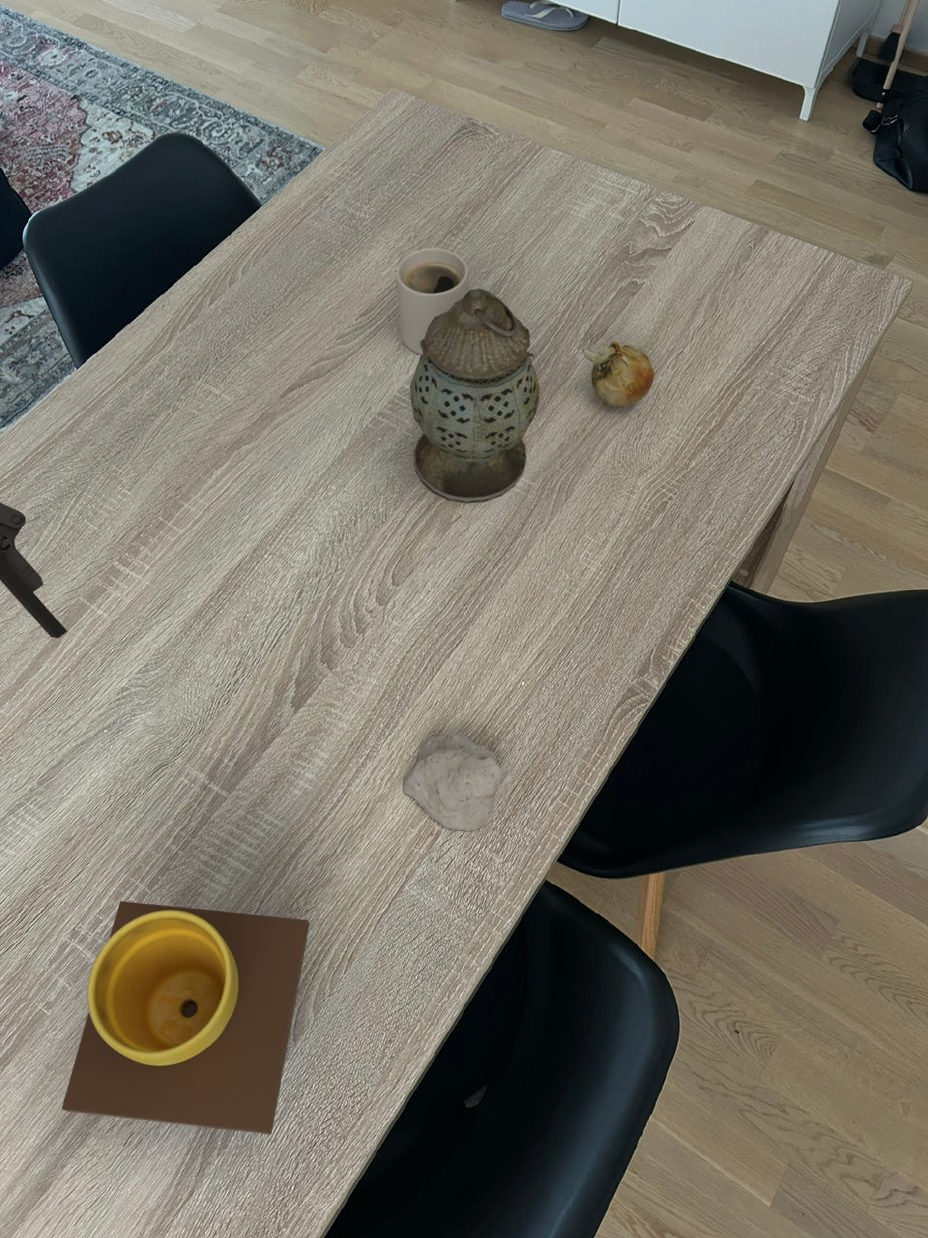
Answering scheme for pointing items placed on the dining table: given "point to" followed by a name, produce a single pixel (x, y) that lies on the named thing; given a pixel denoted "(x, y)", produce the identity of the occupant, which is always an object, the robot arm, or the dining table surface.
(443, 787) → the stone
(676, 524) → the dining table surface
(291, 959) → the stand
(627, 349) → the onion
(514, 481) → the lantern
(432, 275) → the mug
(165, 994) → the flower pot
